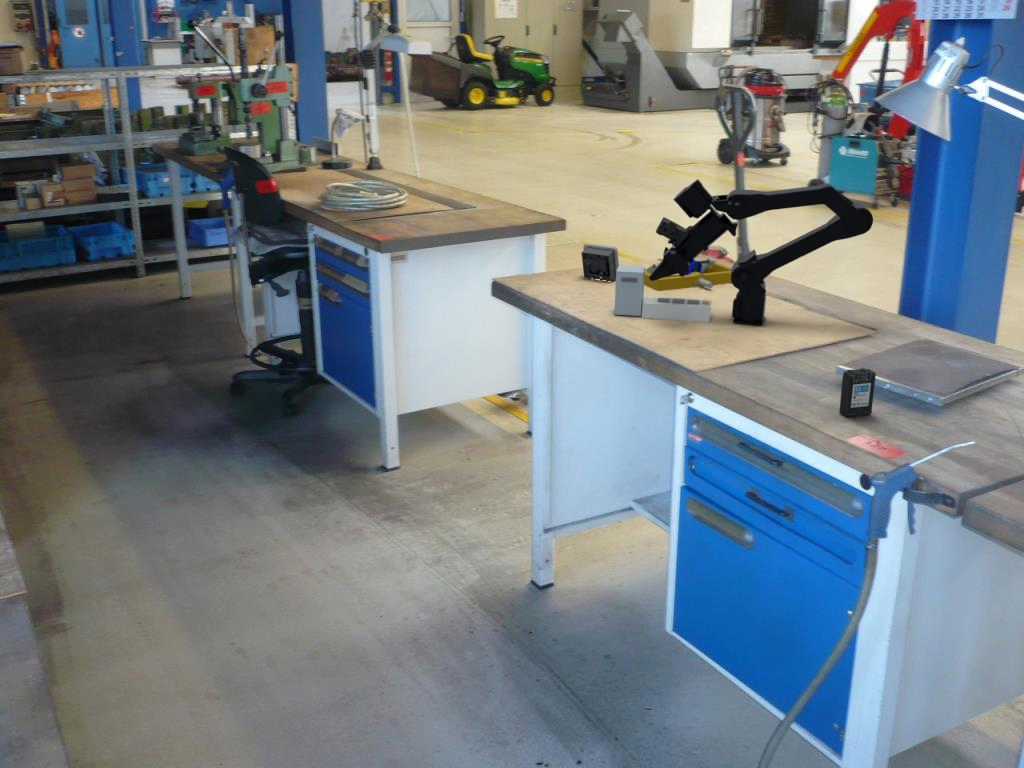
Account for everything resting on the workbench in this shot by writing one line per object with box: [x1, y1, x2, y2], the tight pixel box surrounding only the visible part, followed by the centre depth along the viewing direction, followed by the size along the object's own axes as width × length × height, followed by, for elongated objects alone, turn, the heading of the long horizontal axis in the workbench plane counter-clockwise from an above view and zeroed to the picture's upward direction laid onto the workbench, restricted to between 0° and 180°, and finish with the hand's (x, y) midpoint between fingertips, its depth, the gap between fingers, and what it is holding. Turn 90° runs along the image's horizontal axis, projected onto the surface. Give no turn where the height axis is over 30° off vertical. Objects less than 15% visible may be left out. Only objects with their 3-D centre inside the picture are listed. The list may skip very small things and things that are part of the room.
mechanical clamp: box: [644, 257, 732, 292], centre depth 271 cm, size 18×6×30 cm
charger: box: [613, 265, 646, 317], centre depth 242 cm, size 8×6×10 cm
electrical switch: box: [581, 243, 620, 283], centre depth 272 cm, size 9×5×9 cm, turn 60°
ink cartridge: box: [839, 368, 877, 419], centre depth 183 cm, size 5×2×8 cm, turn 105°
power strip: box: [641, 295, 712, 323], centre depth 246 cm, size 15×17×4 cm
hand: (650, 279), depth 240 cm, fingers closed
